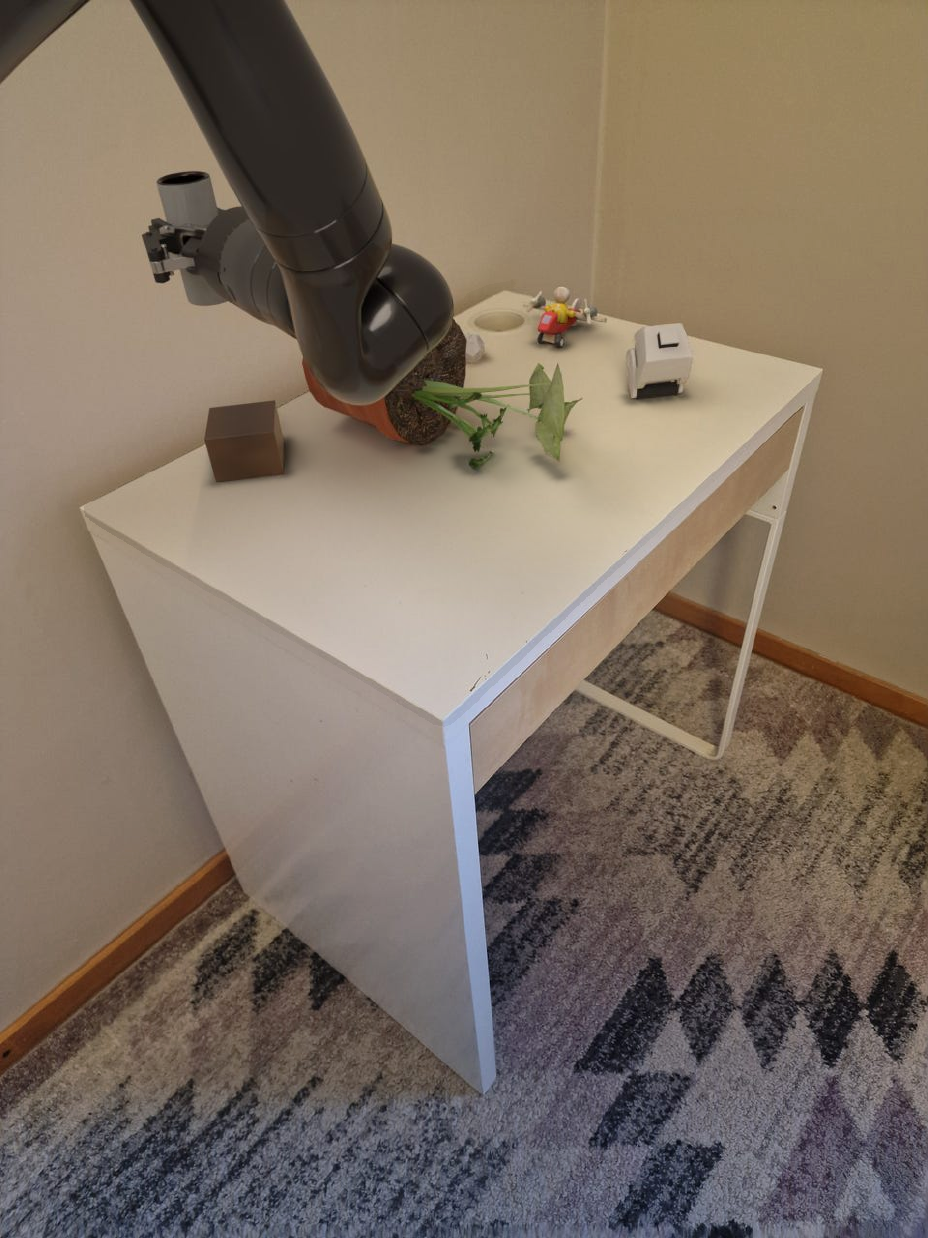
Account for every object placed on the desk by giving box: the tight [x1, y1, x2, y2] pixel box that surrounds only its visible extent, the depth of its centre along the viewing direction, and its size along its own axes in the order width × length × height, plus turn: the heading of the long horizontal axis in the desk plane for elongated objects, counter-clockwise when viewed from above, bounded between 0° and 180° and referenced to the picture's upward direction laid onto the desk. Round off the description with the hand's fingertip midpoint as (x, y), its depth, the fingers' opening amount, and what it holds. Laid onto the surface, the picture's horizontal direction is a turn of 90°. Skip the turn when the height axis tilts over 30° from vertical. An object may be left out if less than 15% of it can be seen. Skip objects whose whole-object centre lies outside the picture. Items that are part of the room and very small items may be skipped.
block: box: [203, 399, 285, 483], centre depth 90 cm, size 7×7×5 cm
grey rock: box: [464, 332, 486, 364], centre depth 107 cm, size 4×4×3 cm
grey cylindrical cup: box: [155, 170, 228, 307], centre depth 77 cm, size 4×4×10 cm
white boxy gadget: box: [625, 322, 694, 400], centre depth 96 cm, size 6×7×10 cm
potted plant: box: [301, 318, 583, 470], centre depth 87 cm, size 16×15×35 cm
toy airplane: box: [522, 286, 608, 348], centre depth 110 cm, size 9×9×6 cm
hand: (184, 224), depth 78 cm, fingers closed on grey cylindrical cup, 4 cm apart
